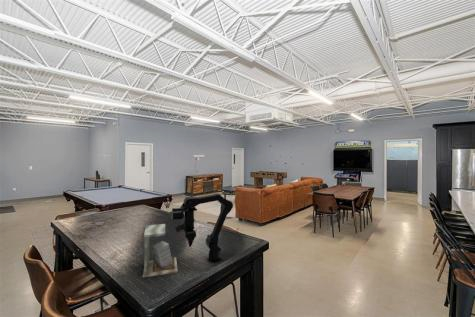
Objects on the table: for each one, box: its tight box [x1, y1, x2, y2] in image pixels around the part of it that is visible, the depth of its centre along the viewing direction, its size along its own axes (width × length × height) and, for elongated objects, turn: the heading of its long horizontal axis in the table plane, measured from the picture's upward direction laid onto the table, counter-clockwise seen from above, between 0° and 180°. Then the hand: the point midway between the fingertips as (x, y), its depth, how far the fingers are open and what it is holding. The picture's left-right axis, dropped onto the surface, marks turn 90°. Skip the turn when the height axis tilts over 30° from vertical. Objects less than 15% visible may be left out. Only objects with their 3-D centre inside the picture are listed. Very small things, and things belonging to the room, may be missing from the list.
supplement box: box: [151, 240, 173, 267], centre depth 136 cm, size 7×7×13 cm
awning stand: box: [142, 223, 178, 278], centre depth 136 cm, size 18×18×23 cm
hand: (189, 243), depth 139 cm, fingers open, 9 cm apart
